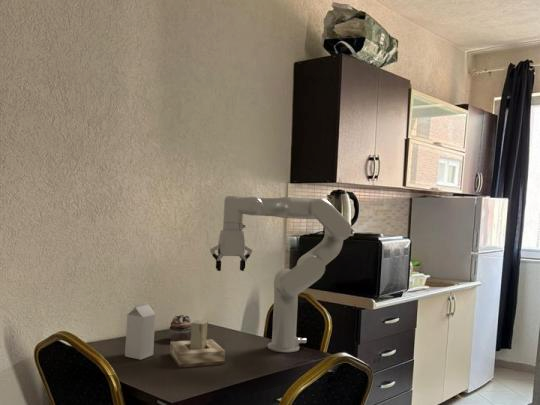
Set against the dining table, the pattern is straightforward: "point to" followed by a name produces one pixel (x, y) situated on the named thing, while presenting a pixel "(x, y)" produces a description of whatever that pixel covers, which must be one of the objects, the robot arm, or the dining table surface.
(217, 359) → the socket block
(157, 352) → the dining table surface
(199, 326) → the skincare box
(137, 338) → the milk carton
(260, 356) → the dining table surface
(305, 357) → the dining table surface
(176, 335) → the cupcake
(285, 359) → the dining table surface
